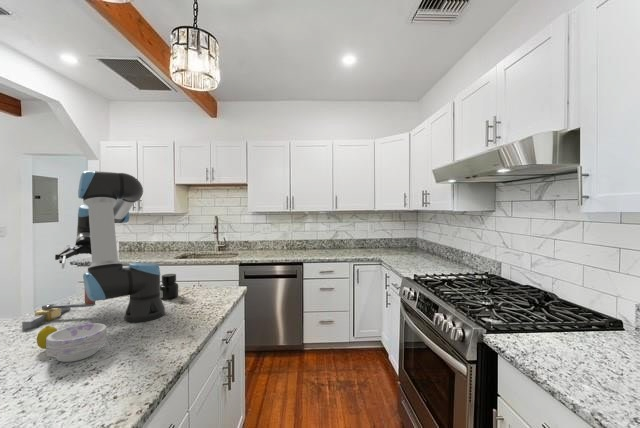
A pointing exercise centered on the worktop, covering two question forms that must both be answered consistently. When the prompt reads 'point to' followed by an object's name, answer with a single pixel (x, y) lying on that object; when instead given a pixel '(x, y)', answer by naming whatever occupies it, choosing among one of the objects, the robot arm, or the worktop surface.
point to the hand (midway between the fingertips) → (82, 265)
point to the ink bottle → (168, 287)
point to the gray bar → (43, 317)
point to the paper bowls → (76, 341)
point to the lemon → (44, 336)
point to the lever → (87, 304)
